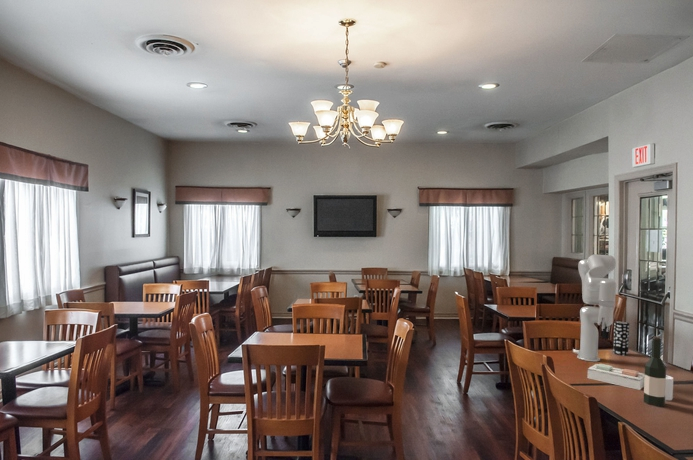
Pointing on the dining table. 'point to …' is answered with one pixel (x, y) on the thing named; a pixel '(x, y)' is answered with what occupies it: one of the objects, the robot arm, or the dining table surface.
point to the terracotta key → (630, 372)
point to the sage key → (604, 367)
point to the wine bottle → (655, 376)
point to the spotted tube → (621, 338)
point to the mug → (669, 388)
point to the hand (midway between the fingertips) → (605, 338)
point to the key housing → (616, 377)
